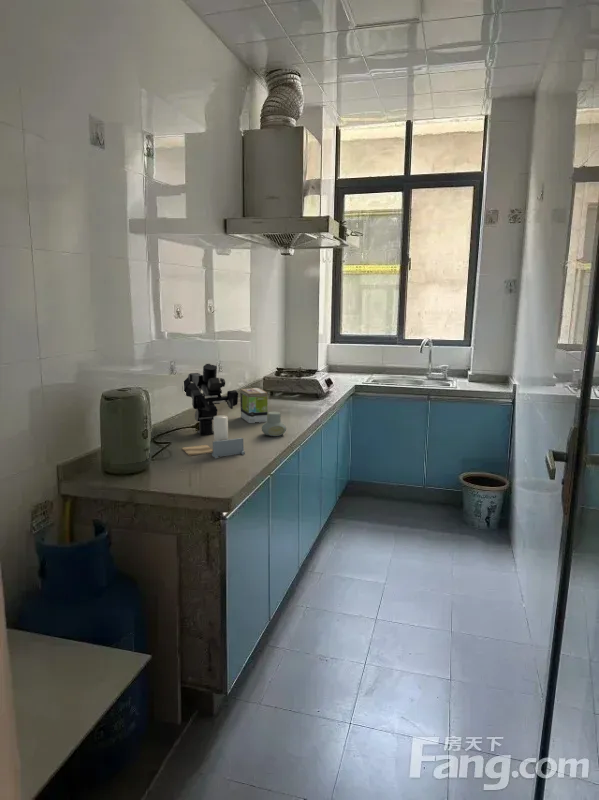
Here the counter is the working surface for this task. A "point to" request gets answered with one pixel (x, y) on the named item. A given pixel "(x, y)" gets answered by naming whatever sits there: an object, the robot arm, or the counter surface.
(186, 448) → the mat
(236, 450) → the screen
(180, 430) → the counter surface
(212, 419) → the robot arm
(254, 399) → the tea box
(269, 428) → the air freshener
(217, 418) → the canister
